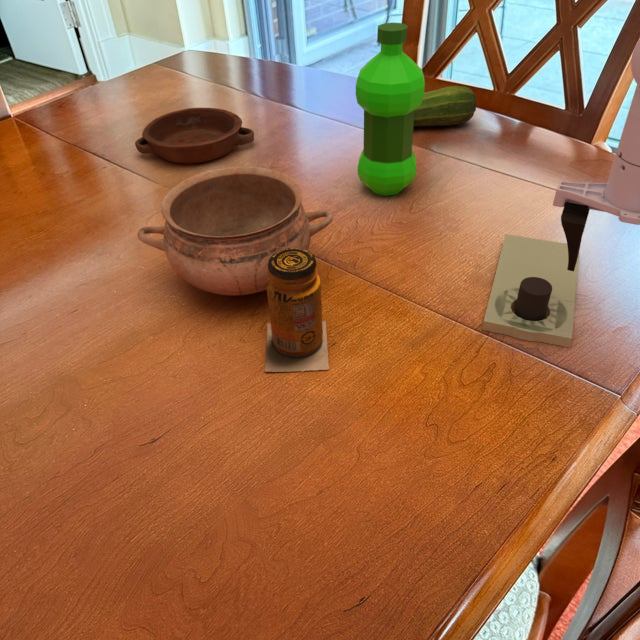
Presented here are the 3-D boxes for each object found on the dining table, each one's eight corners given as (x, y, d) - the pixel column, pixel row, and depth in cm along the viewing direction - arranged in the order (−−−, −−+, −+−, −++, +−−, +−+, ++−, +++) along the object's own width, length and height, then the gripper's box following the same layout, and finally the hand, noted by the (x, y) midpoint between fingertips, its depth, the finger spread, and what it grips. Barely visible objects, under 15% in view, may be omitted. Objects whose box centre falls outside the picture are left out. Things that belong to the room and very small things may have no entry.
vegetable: (480, 81, 112) (374, 89, 112) (480, 122, 114) (376, 130, 113) (469, 87, 119) (369, 95, 119) (469, 125, 121) (371, 132, 120)
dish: (140, 137, 119) (134, 112, 116) (250, 125, 122) (248, 101, 118) (135, 177, 106) (128, 150, 103) (259, 163, 109) (256, 137, 105)
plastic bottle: (416, 173, 103) (428, 16, 87) (416, 204, 95) (429, 37, 79) (358, 172, 104) (359, 16, 88) (353, 202, 97) (353, 38, 80)
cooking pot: (145, 333, 74) (120, 250, 66) (158, 248, 89) (138, 172, 81) (344, 312, 76) (343, 229, 68) (325, 232, 90) (323, 156, 82)
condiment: (325, 322, 75) (322, 240, 67) (328, 370, 68) (325, 286, 60) (267, 324, 75) (257, 243, 67) (265, 373, 68) (253, 290, 60)
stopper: (549, 320, 73) (559, 288, 70) (529, 331, 72) (537, 299, 69) (527, 305, 76) (535, 273, 72) (507, 315, 74) (514, 283, 71)
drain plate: (569, 349, 69) (572, 340, 68) (481, 331, 72) (483, 322, 71) (577, 254, 84) (579, 245, 83) (503, 242, 86) (505, 233, 85)
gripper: (561, 161, 55) (533, 278, 64) (740, 189, 50) (683, 312, 59) (572, 131, 60) (544, 245, 69) (737, 154, 55) (684, 273, 64)
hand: (609, 274), depth 65 cm, fingers open, 7 cm apart
